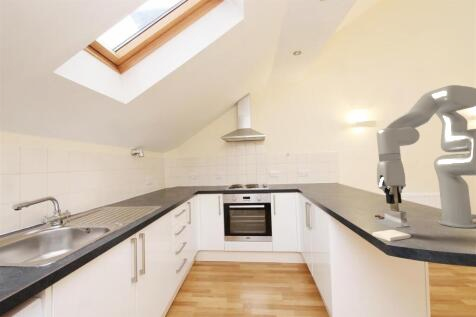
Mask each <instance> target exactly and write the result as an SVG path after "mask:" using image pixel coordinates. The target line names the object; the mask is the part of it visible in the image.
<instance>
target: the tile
mask: <svg viewBox="0 0 476 317" xmlns="http://www.w3.org/2000/svg"><path fill="white" fill-rule="evenodd" d="M372 236H373V237H376V238H380V239H383V240H385V241H389V242H394V241H399V240H406V239H410V238H412V237H411V236H412V235H411V234H410V233H406V232H402V231H399V230H395V229H393V228H392V229H391V228H390V229H387V230H386V229H385V230H379V231H372Z"/></svg>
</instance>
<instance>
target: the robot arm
mask: <svg viewBox="0 0 476 317" xmlns="http://www.w3.org/2000/svg"><path fill="white" fill-rule="evenodd" d="M474 107H476V88H475V87H472V86H466V85H458V84H456V85H455V84H452V85H450V84H449V85H445V86H443V87H440V88H437V89H434V90H430V91H428V92H426V93H423V94H422V96H420V98H418V100H417V101H416V102H415V103H414V105H413V106H412V107H411V108H410V110H408V111H407V112H405V113H404V114H402V115H401V116H399V117H398V118H396V119H394V120H393V121H392V122H390V123H389V124H388V125H387V126H386V127H385V128H381V129H379V130H377V131H376V141H377V142H376V143H377V152H378V153H377V154H378V162H377V165H376V183H377V186H378V189H380V190H382V191H383V192H384V194H385V201H386V204H389V205H390V204H395V200H394V194H392V186H397V195H398V204H402V202H403V200H402V193H403V189H404V188H405V187H407V186H406V185H407V184H406V173H405V168H404V165H403V161H402V154H401V147H405V146H411V145H414V144H416V143H417V142H418V141H419V139H420V136H421V135H420V131H419V130H418V129H417V128H419V127H421V126H423V125H425V124H428V122H429V121H430V120H431V119H432V118H433V116H434V115H435V114H436V115H435V116H437V117H438V118H439V120H440V122H441V125H442V127H441V137H440V148H441V150H442V151H444V152H446V153H451V154H445V155H444V154H443V155H440V156H438V157H436V159H434V162H433V167H434V170H435V173H436V176H437V180H438V187H439V199H440V207H441V216H442V219H438V223H439V224H440V225H442V226H447V227H453V228H461V229H462V228H463V229H465V228H467V229H471V228H473V229H474V228H476V221H473V220H476V214H474V213H473V214H472V207H471V198H470V192H469V191H470V190H469V185H468V182H466V180H465V179H464V178H463V177H462V176H465V177H466V176H468V177H469V176H473V177H474V176H476V128H470V129H468V125H469V124H468V120H467V119H466V117H465V116H464V115H462V114H461V113H458V111H461V110H463V111H464V110H466V109H470V108H471V109H472V108H474ZM465 152H466V153H465ZM467 152H469V153H467Z"/></svg>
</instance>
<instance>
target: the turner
mask: <svg viewBox="0 0 476 317" xmlns="http://www.w3.org/2000/svg"><path fill="white" fill-rule="evenodd" d="M392 194H394V200H395V204H389V209H384V210H383V211H384V217H385V220H390V221H394V222H398V223H402V224H406V223H408V216H407V212H406V211H404V210H400V208H399V203H398V195H397V186H392Z"/></svg>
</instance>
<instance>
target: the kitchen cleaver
mask: <svg viewBox="0 0 476 317" xmlns="http://www.w3.org/2000/svg"><path fill="white" fill-rule="evenodd" d="M374 217H375V218H377V217H378V219H377V220H375V222H377V223H379V224H382V225H383V226H387V227H389V228H390V227H391V228H392V229H393V228H394V229H397V228H399V229H400V228H409V224H406V223H399V222H394V221H390V220H385V216H382V215H380V214H375V215H374Z"/></svg>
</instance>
